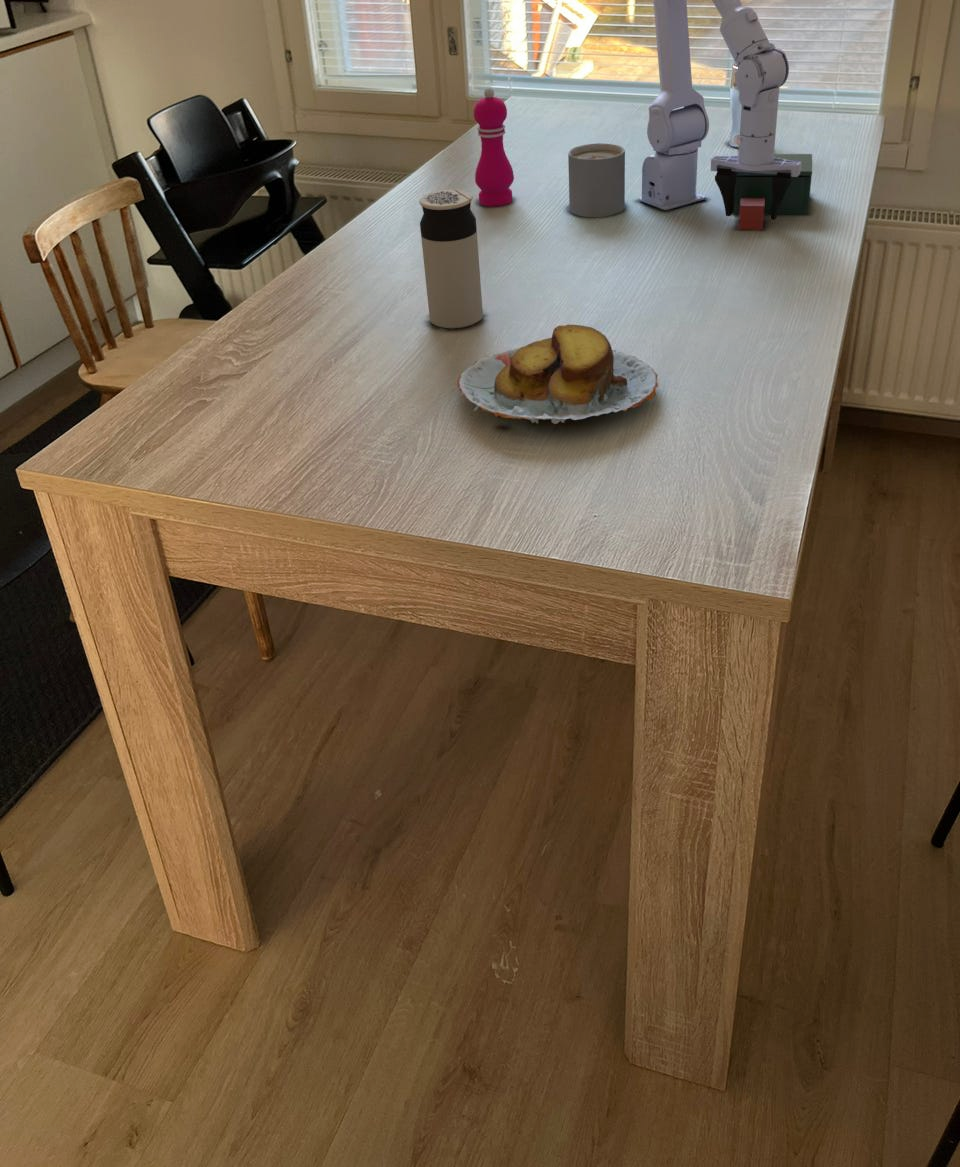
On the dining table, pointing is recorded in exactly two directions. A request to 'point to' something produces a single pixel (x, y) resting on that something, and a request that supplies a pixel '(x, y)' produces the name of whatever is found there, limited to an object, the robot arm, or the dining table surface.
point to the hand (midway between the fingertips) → (751, 216)
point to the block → (751, 213)
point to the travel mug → (451, 259)
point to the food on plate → (559, 378)
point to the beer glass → (735, 110)
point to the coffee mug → (596, 180)
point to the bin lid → (803, 158)
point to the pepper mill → (492, 152)
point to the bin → (762, 188)
